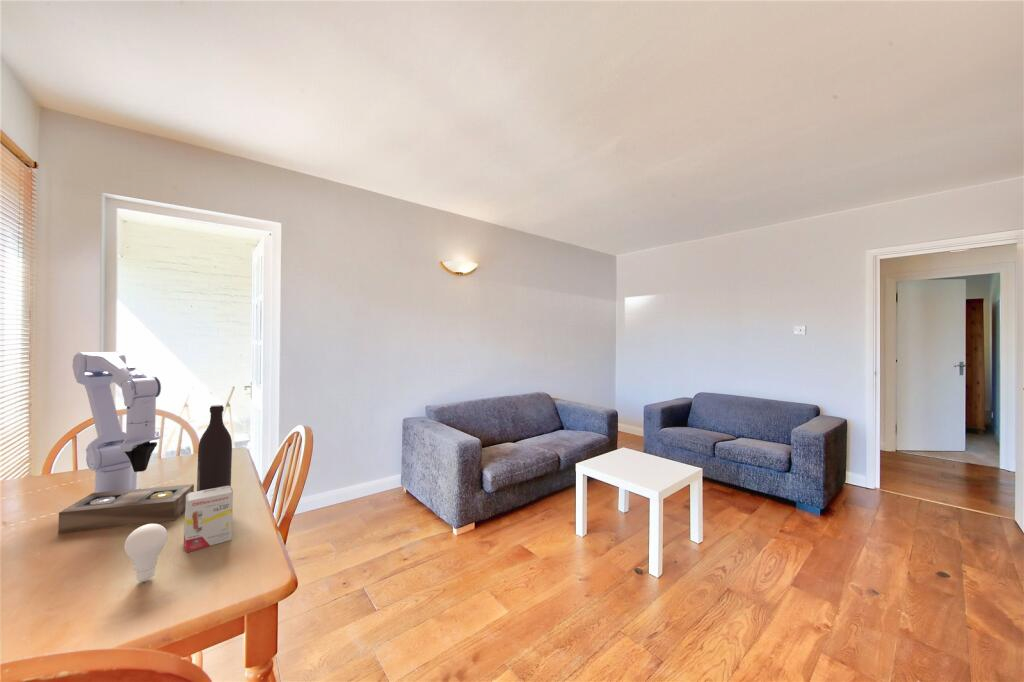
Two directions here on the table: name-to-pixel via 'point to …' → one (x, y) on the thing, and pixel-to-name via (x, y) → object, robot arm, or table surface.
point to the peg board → (124, 509)
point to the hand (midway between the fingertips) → (140, 470)
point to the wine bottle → (214, 453)
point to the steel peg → (102, 500)
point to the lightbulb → (145, 549)
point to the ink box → (208, 517)
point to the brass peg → (161, 494)
